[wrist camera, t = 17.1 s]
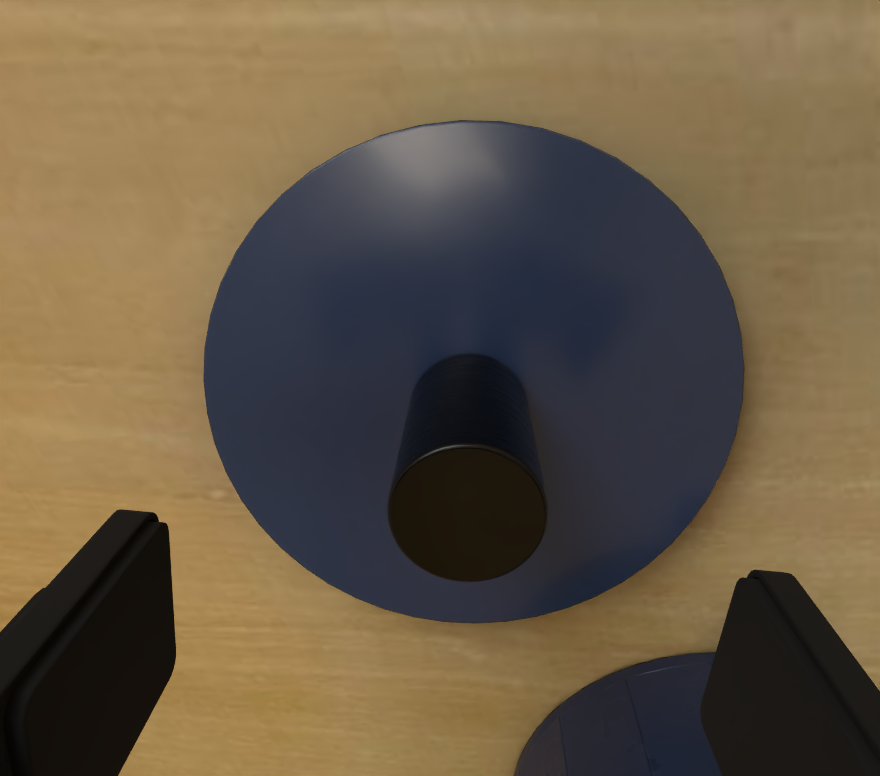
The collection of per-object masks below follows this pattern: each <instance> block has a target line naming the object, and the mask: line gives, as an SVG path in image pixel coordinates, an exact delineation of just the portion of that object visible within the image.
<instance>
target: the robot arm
mask: <svg viewBox="0 0 880 776" xmlns="http://www.w3.org/2000/svg"><path fill="white" fill-rule="evenodd" d="M175 659H176V643H175V627H174V610H173V593H172V576H171V560H170V543H169V530H168V526H167V524H166V523H163V522H159V520H158V517H157V515H156V514H155V513H153V512H142V511H132V510H117V511H116V512H114V513H113V514H112V515H111V517H110V518H109V519H108V520H107V521H106V522H105V523H104V524H103V525H102V526H101V528H100V529H99V530H98V531H97V532H96V533H95V534H94V535H93V536H92V537H91V539H90V540H89V541H88V542H87V543H86V544H85V545H84V546H83V547H82V548H81V550H80V551H79V552H78V553H77V554H76V555H75V556H74V557H73V558H72V559H71V561H70V562H69V563H68V564H67V565H66V566H65V567H64V568H63V569H62V570H61V571H60V573H59V574H58V575H57V576H56V577H55V578H54V579H53V580H52V581H51V582H50V584H49V585H48V586H47V587H46V588H43V589H41V590H40V591H39V592H38V593H36V594H35V595H34V596H33V597H32V598H31V599H30V600H29V602H28V603H27V604H26V605H25V606H24V607H23V608H22V609H21V610H20V611H19V612H18V614H17V615H16V616H15V617H14V618H13V619H12V620H11V621H10V622H9V623H8V624H7V625H6V627H5V628H4V629H3V630H2V631H1V632H0V776H118V775H119V773H120V771H121V769H122V767H123V765H124V763H125V761H126V760H127V758H128V756H129V754H130V752H131V750H132V748H133V747H134V745H135V743H136V741H137V739H138V737H139V735H140V733H141V732H142V730H143V728H144V726H145V724H146V722H147V720H148V718H149V717H150V715H151V713H152V711H153V709H154V707H155V705H156V703H157V702H158V700H159V698H160V696H161V694H162V692H163V690H164V688H165V687H166V685H167V683H168V681H169V679H170V677H171V675H172V672H173V669H174V665H175ZM700 714H701V722H702V726H703V729H704V732H705V734H706V737H707V739H708V742H709V744H710V747H711V749H712V752H713V754H714V757H715V759H716V762H717V764H718V767H719V769H720V772H721V774H722V776H880V691H879V690H878V689H877V687H876V686H875V684H874V683H873V682H872V680H871V679H870V678H869V676H868V675H867V674H866V672H865V671H864V670H863V668H862V667H861V666H860V664H859V663H858V662H857V660H856V659H855V658H854V656H853V655H852V653H851V652H850V651H849V649H848V648H847V647H846V645H845V644H844V643H843V641H842V640H841V639H840V637H839V636H838V635H837V633H836V632H835V631H834V629H833V628H832V626H831V625H830V624H829V622H828V621H827V620H826V618H825V617H824V616H823V614H822V613H821V612H820V610H819V609H818V608H817V606H816V605H815V604H814V602H813V601H812V600H811V598H810V597H809V595H808V594H807V593H806V591H805V590H804V589H803V587H802V586H801V585H800V583H799V582H798V581H797V579H796V578H795V577H794V576H793V575H792V574H789V573H784V572H773V571H763V570H753V571H751V572H750V573H749V574H748V576H747V578H740V579H739V580H738V581H737V584H736V586H735V589H734V593H733V596H732V600H731V603H730V606H729V610H728V613H727V617H726V620H725V623H724V627H723V630H722V634H721V637H720V640H719V644H718V647H717V650H716V654H715V657H714V661H713V664H712V667H711V671H710V674H709V678H708V681H707V684H706V688H705V691H704V695H703V698H702V702H701V709H700Z"/></svg>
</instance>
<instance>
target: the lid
mask: <svg viewBox="0 0 880 776" xmlns="http://www.w3.org/2000/svg"><path fill="white" fill-rule="evenodd" d="M743 383H744V359H743V347H742V336H741V331H740V326H739V322H738V318H737V314H736V310H735V306H734V301H733V298H732V296H731V293H730V291H729V289H728V286H727V284H726V281H725V279H724V276H723V274H722V271H721V269H720V266H719V265H718V263H717V261H716V260H715V258H714V256H713V255H712V253H711V251H710V249H709V248H708V246H707V244H706V243H705V241H704V239H703V238H702V236H701V234H700V233H699V232H698V231H697V230H696V228H695V227H694V226H693V225H692V223H691V222H690V221H689V220H688V218H687V217H686V216H685V215H684V214H683V212H682V211H681V210H680V209H679V207H678V206H677V205H676V204H675V203H674V202H672V201H671V200H670V199H669V198H668V197H667V196H666V195H665V194H664V193H663V192H662V191H660V190H659V189H658V188H657V187H656V186H655V185H654V184H653V183H652V182H651V181H650V180H648V179H647V178H645V177H644V176H642V175H641V174H639V173H638V172H636V171H635V170H634V169H632V168H631V167H629V166H628V165H626V164H625V163H623V162H622V161H620V160H619V159H617V158H616V157H614V156H611V155H609V154H607V153H605V152H603V151H601V150H599V149H597V148H595V147H593V146H591V145H589V144H587V143H585V142H583V141H581V140H577V139H574V138H571V137H568V136H565V135H562V134H559V133H556V132H552V131H549V130H546V129H543V128H538V127H532V126H526V125H520V124H514V123H508V122H502V121H468V120H459V121H450V122H442V123H433V124H424V125H418V126H414V127H411V128H407V129H403V130H399V131H395V132H391V133H388V134H384V135H380V136H378V137H376V138H373V139H371V140H368V141H366V142H364V143H361V144H359V145H357V146H354V147H352V148H349V149H347V150H345V151H343V152H341V153H340V154H338V155H336V156H335V157H333V158H331V159H330V160H328V161H326V162H325V163H323V164H321V165H319V166H318V167H316V168H314V169H313V170H311V171H310V172H309V173H307V174H306V175H305V176H304V177H303V178H301V179H300V180H299V181H298V182H296V183H295V184H294V185H293V186H291V187H290V188H289V189H288V190H286V191H285V192H284V193H283V194H282V195H281V196H280V197H279V198H278V199H277V200H276V201H275V202H274V203H273V204H272V205H271V207H270V208H269V209H268V210H267V211H266V212H265V213H264V214H263V215H262V216H261V217H260V218H259V219H258V221H257V222H256V223H255V225H254V226H253V228H252V229H251V230H250V232H249V233H248V235H247V236H246V238H245V239H244V241H243V242H242V244H241V245H240V246H239V248H238V249H237V251H236V253H235V255H234V257H233V259H232V261H231V263H230V265H229V267H228V269H227V271H226V273H225V275H224V277H223V279H222V281H221V284H220V287H219V290H218V293H217V296H216V299H215V302H214V305H213V308H212V311H211V314H210V320H209V325H208V331H207V337H206V343H205V352H204V388H205V398H206V407H207V414H208V418H209V422H210V426H211V430H212V434H213V438H214V442H215V445H216V448H217V451H218V453H219V456H220V458H221V461H222V463H223V466H224V468H225V471H226V473H227V475H228V477H229V479H230V480H231V482H232V484H233V486H234V488H235V489H236V491H237V493H238V495H239V497H240V499H241V500H242V502H243V503H244V504H245V506H246V507H247V509H248V510H249V511H250V513H251V514H252V515H253V517H254V518H255V519H256V521H257V522H258V524H259V525H260V526H261V527H262V528H263V529H264V530H265V531H266V532H267V534H268V535H269V536H270V537H271V538H272V539H273V540H274V541H275V542H276V543H277V544H278V545H279V546H280V547H281V548H282V549H283V550H284V551H285V552H286V553H288V554H289V555H290V556H291V557H292V558H293V559H295V560H296V561H297V562H298V563H299V564H301V565H302V566H303V567H304V568H306V569H307V570H309V571H310V572H312V573H313V574H315V575H316V576H318V577H319V578H321V579H322V580H324V581H325V582H327V583H328V584H330V585H332V586H334V587H336V588H337V589H339V590H341V591H343V592H345V593H347V594H349V595H351V596H353V597H355V598H357V599H360V600H362V601H365V602H367V603H370V604H372V605H375V606H378V607H380V608H383V609H386V610H389V611H393V612H397V613H401V614H404V615H408V616H412V617H417V618H423V619H429V620H436V621H442V622H457V623H491V622H507V621H513V620H519V619H525V618H531V617H537V616H540V615H544V614H548V613H551V612H555V611H559V610H562V609H566V608H568V607H571V606H573V605H576V604H578V603H581V602H584V601H586V600H589V599H591V598H594V597H596V596H598V595H599V594H601V593H603V592H605V591H607V590H609V589H611V588H613V587H615V586H616V585H618V584H620V583H622V582H623V581H625V580H626V579H628V578H629V577H631V576H632V575H634V574H635V573H637V572H638V571H639V570H641V569H642V568H644V567H645V566H647V565H648V564H649V563H650V562H651V561H653V560H654V559H655V558H656V557H657V556H658V555H659V554H661V553H662V552H663V551H664V550H665V549H666V548H667V547H669V546H670V545H671V544H672V543H673V542H674V540H675V539H676V538H677V537H678V536H679V535H680V534H681V533H682V531H683V530H684V529H685V528H686V527H687V526H688V525H689V524H690V523H691V521H692V520H693V519H694V517H695V516H696V514H697V513H698V511H699V510H700V509H701V507H702V506H703V504H704V503H705V501H706V500H707V498H708V497H709V495H710V494H711V492H712V490H713V488H714V486H715V484H716V482H717V480H718V478H719V476H720V474H721V472H722V470H723V469H724V467H725V464H726V461H727V458H728V456H729V453H730V450H731V447H732V444H733V441H734V439H735V436H736V431H737V426H738V421H739V417H740V412H741V407H742V401H743Z"/></svg>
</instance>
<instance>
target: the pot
mask: <svg viewBox="0 0 880 776" xmlns="http://www.w3.org/2000/svg"><path fill="white" fill-rule="evenodd" d="M715 654H716V653H698V654H686V655H679V656H673V657H666V658H661V659H657V660H653V661H649V662H645V663H641V664H637V665H634V666H632V667H629V668H626V669H624V670H621V671H618V672H615V673H613V674H611V675H609V676H607V677H605V678H602V679H600V680H598V681H596V682H594V683H592V684H590V685H589V686H587V687H586V688H584V689H582V690H581V691H579V692H578V693H576V694H575V695H573V696H572V697H570V698H569V699H567V700H566V701H565V702H564V703H563V704H561V705H560V706H559V707H558V708H557V709H556V710H554V711H553V712H552V713H551V714H550V715H549V716H548V717H547V718H546V719H545V721H544V722H543V723H542V724H541V725H540V726H539V727H538V728H537V730H536V731H535V733H534V734H533V735H532V737H531V738H530V740H529V741H528V743H527V744H526V746H525V748H524V750H523V753H522V755H521V757H520V759H519V761H518V763H517V767H516V771H515V774H514V776H722V774H721V772H720V769H719V767H718V764H717V762H716V759H715V757H714V754H713V752H712V749H711V747H710V744H709V742H708V739H707V737H706V734H705V732H704V729H703V726H702V722H701V714H700V709H701V702H702V698H703V695H704V691H705V688H706V684H707V681H708V678H709V674H710V671H711V667H712V664H713V661H714V657H715Z"/></svg>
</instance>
